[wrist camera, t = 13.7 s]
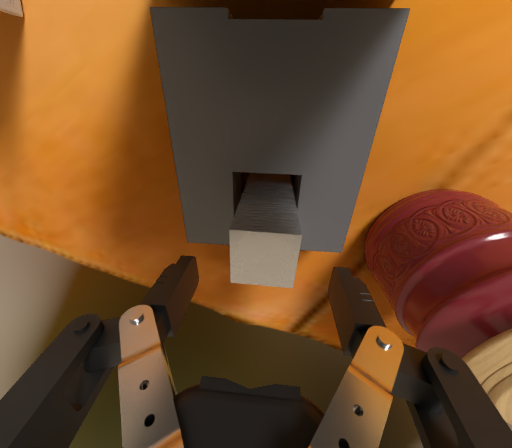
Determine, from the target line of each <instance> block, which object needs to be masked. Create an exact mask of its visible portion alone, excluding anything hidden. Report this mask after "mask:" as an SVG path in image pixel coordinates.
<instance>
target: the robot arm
mask: <svg viewBox="0 0 512 448" xmlns="http://www.w3.org/2000/svg"><path fill="white" fill-rule="evenodd" d="M198 281H199V275H198V268H197V262H196V258H195V257H194V256H181V257H180V259H179V260H178V262H177V263H176V264H171V265H170V266H168V267H167V268H166V269H164V271H163V272H162V274H161V275H160V277H159V278H158V279H157V281H156V283H155V284H154V285H153V287H152V288H151V290H150V291H149V292H148V294H147V295H146V297H145V298H144V300H143V301H142V303H141V304H140V305H138V306H135V307H133V308H131V309H129V310H127V311H126V312H125V313H124V314H123V315H122V317H118V318H112V319H107V320H101V319H100V317H99V316H98V315H97V314H86V315H82V316H80V317H78V318H76V319H74V320H73V321H71V322H70V323H69V324H68V325H67V326H66V327H65V328H64V329H63V330H62V331H61V333H60V334H59V335H58V336H57V337H56V338H55V339H54V340H53V342H52V343H51V344H50V345H49V346H48V347H47V348H46V349H45V351H44V352H43V353H42V354H41V355H40V356H39V357H38V358H37V360H36V361H35V362H34V363H33V364H32V365H31V367H30V368H28V370H27V371H26V372H25V373H24V374H23V375H22V376H21V377H20V379H19V380H18V381H17V382H16V383H15V384H14V385H13V386H12V388H11V389H10V390H9V391H8V392H7V393H6V394H5V396H4V397H3V398H2V399H1V400H0V448H69V446H70V444H71V442H72V440H73V439H74V437H75V435H76V433H77V432H78V430H79V428H80V426H81V425H82V423H83V421H84V419H85V418H86V416H87V414H88V412H89V411H90V409H91V407H92V405H93V404H94V402H95V400H96V398H97V397H98V395H99V393H100V391H101V389H102V388H103V386H104V384H105V382H106V381H107V379H108V377H109V375H110V374H111V372H112V370H113V368H114V367H115V366H118V375H119V391H120V407H121V424H122V441H123V447H122V448H378V446H379V443H380V439H381V436H382V432H383V429H384V426H385V422H386V419H387V416H388V412H389V409H390V405H391V402H392V398H393V394H394V395H396V396H398V397H400V398H402V399H405V400H406V402H407V405H408V407H409V410H410V412H411V415H412V418H413V421H414V423H415V426H416V428H417V431H418V434H419V436H420V439H421V442H422V444H423V447H424V448H512V431H511V429H510V428H509V426H508V425H507V423H506V422H505V420H504V419H503V417H502V416H501V414H500V413H499V411H498V410H497V408H496V407H495V405H494V404H493V402H492V401H491V399H490V398H489V396H488V395H487V393H486V392H485V390H484V389H483V387H482V386H481V384H480V383H479V381H478V380H477V378H476V377H475V375H474V374H473V372H472V371H471V369H470V368H469V367H468V365H467V364H466V363H465V362H464V361H463V360H462V359H461V358H460V357H459V356H457V355H456V354H454V353H453V352H451V351H449V350H447V349H444V348H441V347H432V348H430V349H429V350H428V352H425V351H422V350H419V349H416V348H414V347H411V346H408V345H406V344H404V343H402V341H401V340H400V338H399V337H398V336H397V335H396V334H395V333H394V332H392V331H391V330H389V329H387V328H386V326H385V324H384V322H383V320H382V318H381V316H380V314H379V311H378V309H377V307H376V305H375V303H374V302H373V299H372V297H371V295H370V293H369V291H368V289H367V287H366V285H365V284H364V283H363V282H362V281H361V280H360V279H359V278H353V276H352V274H351V271H350V269H349V268H343V267H334V268H333V272H332V276H331V280H330V284H329V288H328V295H329V300H330V304H331V308H332V311H333V315H334V319H335V323H336V327H337V331H338V334H339V338H340V342H341V346H342V350H343V353H344V355H350V356H352V358H353V360H352V362H351V364H350V365H349V367H348V369H347V371H346V373H345V375H344V377H343V379H342V381H341V383H340V385H339V387H338V389H337V391H336V393H335V395H334V397H333V399H332V401H331V403H330V405H329V407H328V409H327V411H326V413H324V412H323V411H322V410H321V409H320V408H319V407H318V406H317V405H316V404H314V403H313V402H312V401H310V400H309V399H307V398H305V397H303V396H301V395H300V387H296V386H287V385H278V384H274V385H268V386H263V387H258V388H253V389H248V388H246V387H243V386H241V385H239V384H237V383H234V382H232V381H230V380H228V379H225V378H215V377H206V376H202V379H201V383H200V384H198V385H194V386H191V387H189V388H187V389H185V390H183V391H182V392H180V393H179V394H177V392H176V389H175V385H174V382H173V379H172V375H171V371H170V367H169V363H168V359H167V355H166V351H165V347H164V342H165V339H166V337H175V335H176V333H177V330H178V328H179V326H180V324H181V321H182V319H183V317H184V315H185V312H186V310H187V308H188V306H189V303H190V301H191V299H192V297H193V295H194V292H195V290H196V288H197V285H198Z"/></svg>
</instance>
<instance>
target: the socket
mask: <svg viewBox="0 0 512 448" xmlns="http://www.w3.org/2000/svg"><path fill="white" fill-rule="evenodd" d="M409 11H410V8H324V10H323V12H322V14H321V16H320V18H319V20H296V19H233V17H232V15H231V13H230V11H229V9H228V7H150V12H151V18H152V24H153V31H154V37H155V43H156V49H157V55H158V62H159V68H160V74H161V80H162V87H163V93H164V99H165V105H166V112H167V118H168V124H169V130H170V136H171V143H172V149H173V155H174V161H175V168H176V174H177V180H178V186H179V193H180V199H181V205H182V211H183V218H184V224H185V230H186V236H187V242H192V243H206V244H221V245H230V237H229V229H230V226H231V224H232V221H233V218H234V215H235V213H236V210H237V207H238V204H239V202H240V199H241V172H251V173H271V174H292V175H295V178H294V187H293V192H294V197H295V202H296V207H297V212H298V217H299V222H300V227H301V232H302V239H301V245H300V250H309V251H324V252H338V253H342V250H343V246H344V242H345V239H346V235H347V232H348V228H349V225H350V221H351V218H352V214H353V210H354V207H355V203H356V200H357V196H358V193H359V189H360V185H361V182H362V178H363V175H364V171H365V168H366V164H367V161H368V157H369V153H370V150H371V146H372V143H373V139H374V136H375V132H376V128H377V125H378V121H379V118H380V114H381V111H382V107H383V104H384V100H385V96H386V93H387V89H388V86H389V82H390V79H391V75H392V71H393V68H394V64H395V61H396V57H397V54H398V50H399V46H400V43H401V39H402V36H403V32H404V29H405V25H406V22H407V18H408V14H409Z"/></svg>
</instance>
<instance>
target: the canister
mask: <svg viewBox="0 0 512 448" xmlns="http://www.w3.org/2000/svg"><path fill="white" fill-rule="evenodd" d="M364 251H365V257H366V262H367V265H368V268H369V270H370V272H371V274H372V275H373V277H374V279H375V280H376V281H377V282H378V283H379V284H380V286H381V288H382V290H383V291H384V293H385V295H386V296H387V298H388V300H389V302H390V303H391V305H392V307H393V309H394V310H395V314H396V317H397V320H398V322H399V323H400V325H401V326H402V327H403V328H404V329H405V330H406V331H407V332H408V333H410V334H411V335H413V336H414V337H415V338H416V349H419V350H422V351H425V352H428V350H429V349H430V348H432V347H441V348H444V349H447V350H449V351H451V352H453V353H454V354H456V355H457V356H459V357H460V358H461V359H462V360H463V361H464V362H465V363H466V364H467V365H468V367H469V368H470V369H471V371H472V372H473V374H474V375H475V377H476V378H477V380H478V381H479V383H480V384H481V386H482V387H483V389H484V390H485V392H486V393H487V395H488V396H489V398H490V399H491V401H492V402H493V404H494V405H495V407H496V408H497V410H498V411H499V413H500V414H501V416H502V417H503V419H504V420H505V422H507V423H509V424H511V425H512V213H511V212H508V211H506V210H504V209H502V208H500V207H499V206H498V205H497V204H495V203H494V202H492V201H490V200H488V199H486V198H483V197H481V196H479V195H476V194H473V193H469V192H463V191H458V190H452V189H436V190H429V191H424V192H421V193H417V194H414V195H412V196H409V197H407V198H405V199H403V200H401V201H399V202H397V203H396V204H394V205H393V206H391V207H390V208H388V209H387V210H386V211H385V212H384V213H383V214H381V216H380V217H379V218H378V219H377V220H376V221H375V222H374V224H373V225H372V227H371V228H370V230H369V232H368V234H367V237H366V240H365V246H364Z"/></svg>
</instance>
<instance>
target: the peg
mask: <svg viewBox="0 0 512 448" xmlns="http://www.w3.org/2000/svg"><path fill="white" fill-rule="evenodd" d="M229 237H230V278H231V283H240V284H252V285H263V286H274V287H285V288H293V285H294V279H295V273H296V268H297V262H298V256H299V251H300V245H301V239H302V232H301V227H300V222H299V217H298V212H297V207H296V202H295V197H294V192H293V187H292V182H291V177H290V174H271V173H251V172H250V174H249V177H248V180H247V183H246V185H245V188H244V191H243V194H242V196H241V199H240V202H239V204H238V207H237V210H236V213H235V215H234V218H233V221H232V224H231V226H230V229H229Z"/></svg>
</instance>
